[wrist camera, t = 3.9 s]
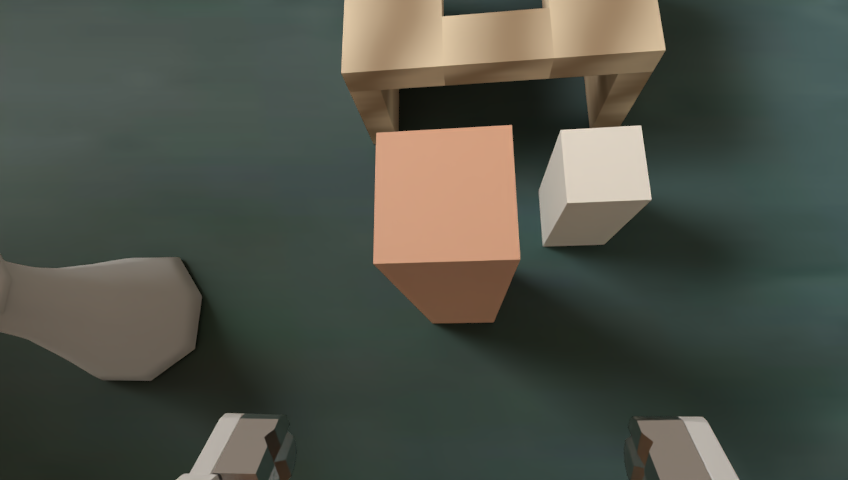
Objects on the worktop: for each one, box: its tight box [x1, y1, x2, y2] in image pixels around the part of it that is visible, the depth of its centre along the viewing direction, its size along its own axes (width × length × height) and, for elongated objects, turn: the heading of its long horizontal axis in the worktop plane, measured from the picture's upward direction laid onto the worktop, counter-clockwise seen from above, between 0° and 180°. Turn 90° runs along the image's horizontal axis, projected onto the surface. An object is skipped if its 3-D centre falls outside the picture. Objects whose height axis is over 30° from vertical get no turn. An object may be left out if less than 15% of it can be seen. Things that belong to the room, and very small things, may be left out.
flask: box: [0, 254, 202, 381], centre depth 22 cm, size 7×7×10 cm
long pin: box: [373, 125, 520, 323], centre depth 18 cm, size 3×3×15 cm
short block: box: [539, 125, 652, 247], centre depth 22 cm, size 3×3×7 cm
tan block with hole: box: [341, 0, 666, 144], centre depth 25 cm, size 14×10×7 cm
